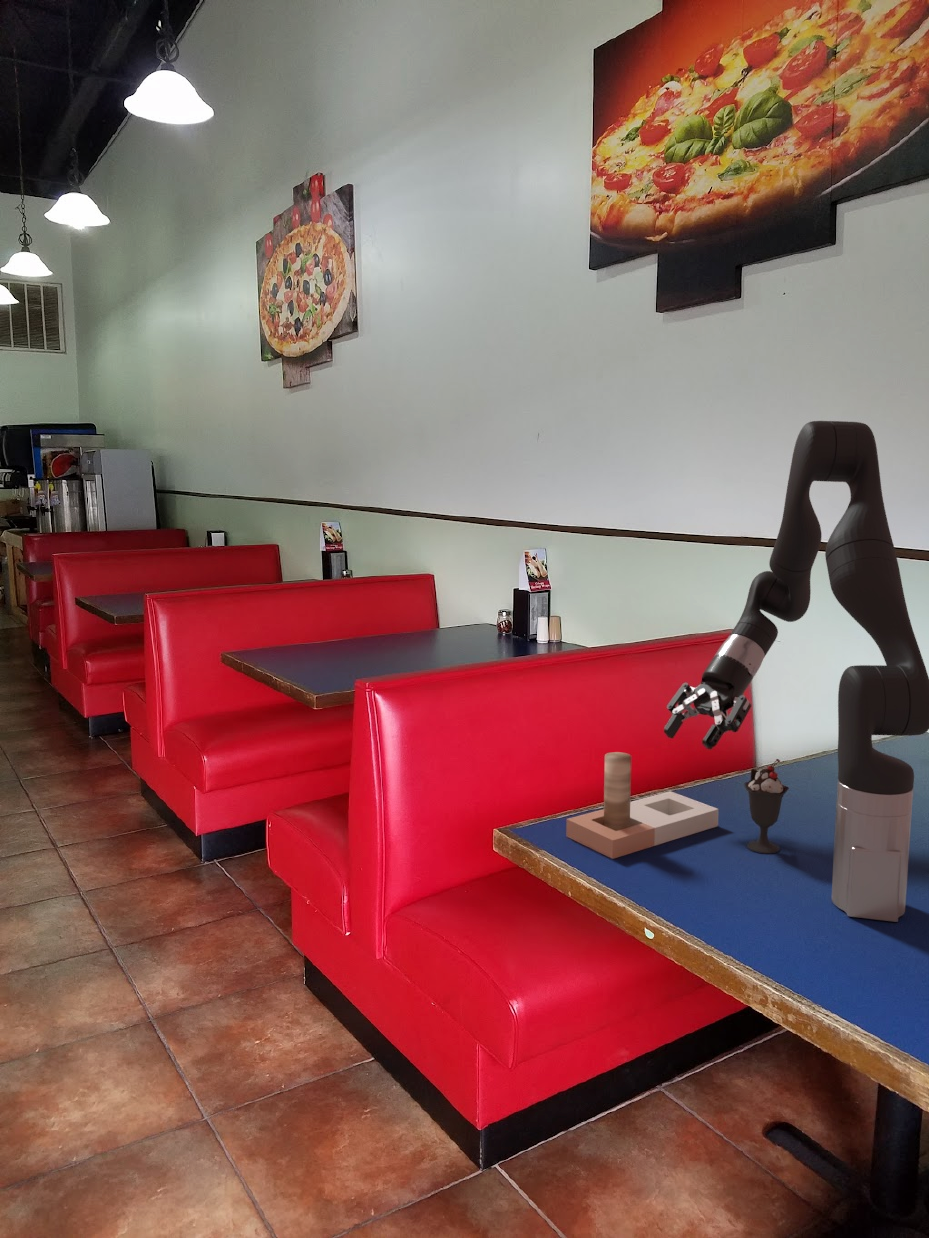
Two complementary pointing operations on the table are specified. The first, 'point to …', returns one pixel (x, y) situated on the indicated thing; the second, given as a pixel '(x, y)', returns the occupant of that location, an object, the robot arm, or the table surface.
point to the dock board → (644, 824)
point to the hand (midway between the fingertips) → (686, 740)
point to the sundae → (765, 805)
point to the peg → (617, 790)
